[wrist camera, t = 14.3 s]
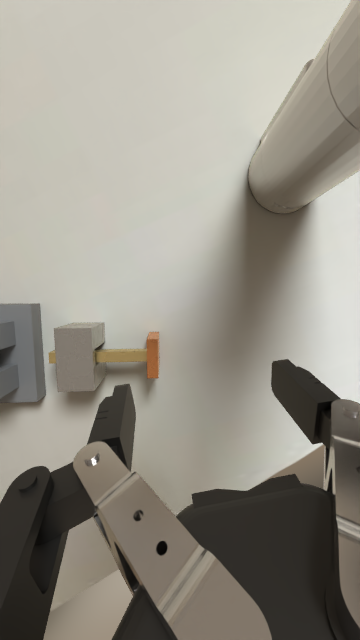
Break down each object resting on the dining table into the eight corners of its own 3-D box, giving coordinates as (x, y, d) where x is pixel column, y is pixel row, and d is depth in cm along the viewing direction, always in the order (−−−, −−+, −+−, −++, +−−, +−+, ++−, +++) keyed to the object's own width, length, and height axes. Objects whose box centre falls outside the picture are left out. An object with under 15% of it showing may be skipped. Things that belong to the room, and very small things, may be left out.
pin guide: (73, 322, 30) (53, 328, 24) (104, 322, 30) (91, 328, 25) (76, 375, 30) (57, 392, 25) (106, 374, 30) (94, 390, 25)
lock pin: (158, 332, 30) (157, 339, 25) (159, 364, 31) (158, 378, 26) (62, 333, 29) (41, 340, 24) (64, 366, 30) (44, 381, 25)
